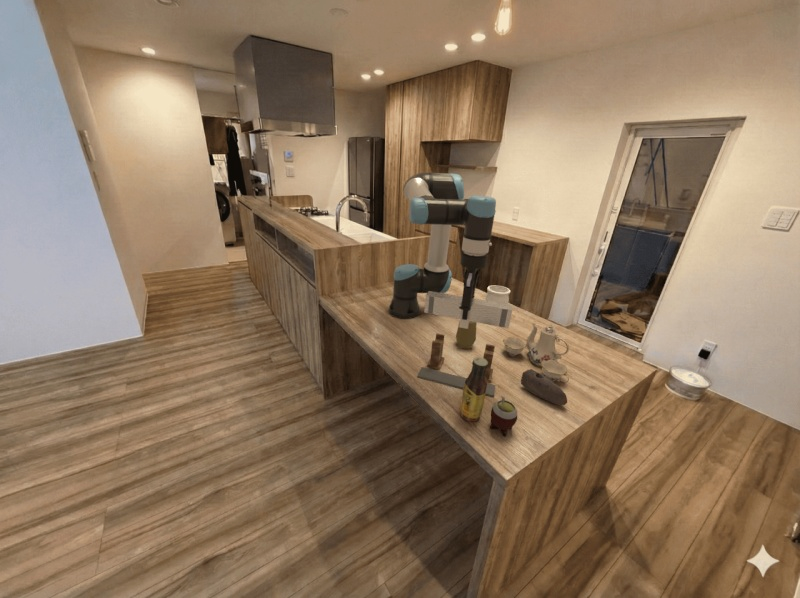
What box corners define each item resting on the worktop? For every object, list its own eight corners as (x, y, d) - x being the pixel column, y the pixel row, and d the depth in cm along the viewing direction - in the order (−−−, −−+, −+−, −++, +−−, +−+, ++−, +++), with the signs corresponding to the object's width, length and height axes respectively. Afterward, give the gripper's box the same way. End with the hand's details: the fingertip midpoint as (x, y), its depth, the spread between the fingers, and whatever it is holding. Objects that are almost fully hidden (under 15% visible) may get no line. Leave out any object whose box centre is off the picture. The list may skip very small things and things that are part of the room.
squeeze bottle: (475, 342, 134) (482, 303, 127) (473, 352, 127) (479, 311, 120) (456, 338, 137) (461, 300, 129) (453, 348, 130) (458, 308, 122)
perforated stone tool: (568, 406, 102) (574, 388, 99) (560, 413, 99) (566, 395, 96) (526, 381, 112) (530, 365, 109) (517, 387, 109) (521, 370, 106)
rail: (424, 312, 103) (425, 295, 100) (427, 307, 106) (428, 290, 104) (508, 328, 95) (512, 310, 93) (508, 322, 99) (512, 304, 96)
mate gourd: (508, 418, 95) (518, 377, 89) (518, 440, 88) (530, 397, 82) (483, 418, 95) (492, 377, 89) (491, 440, 88) (501, 397, 82)
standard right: (476, 378, 112) (481, 352, 108) (479, 367, 118) (483, 342, 114) (491, 382, 111) (496, 356, 106) (492, 371, 117) (497, 345, 112)
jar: (502, 313, 161) (508, 285, 155) (506, 323, 152) (512, 294, 146) (481, 311, 162) (485, 284, 156) (484, 321, 153) (489, 292, 147)
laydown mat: (417, 377, 111) (417, 375, 111) (421, 368, 116) (421, 366, 116) (493, 397, 104) (494, 395, 104) (495, 386, 109) (495, 385, 108)
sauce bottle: (457, 407, 99) (465, 353, 91) (476, 407, 99) (486, 353, 91) (462, 424, 93) (472, 367, 85) (483, 423, 93) (494, 366, 85)
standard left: (426, 366, 117) (429, 341, 113) (431, 356, 123) (434, 332, 119) (440, 369, 116) (443, 344, 112) (444, 359, 122) (447, 335, 118)
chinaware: (493, 355, 129) (497, 320, 122) (518, 340, 138) (524, 306, 130) (559, 395, 109) (569, 355, 101) (584, 374, 118) (595, 336, 110)
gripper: (485, 262, 84) (473, 339, 93) (490, 247, 99) (479, 315, 108) (456, 258, 86) (447, 334, 95) (466, 244, 101) (457, 311, 110)
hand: (464, 324), depth 102 cm, fingers closed on rail, 4 cm apart
